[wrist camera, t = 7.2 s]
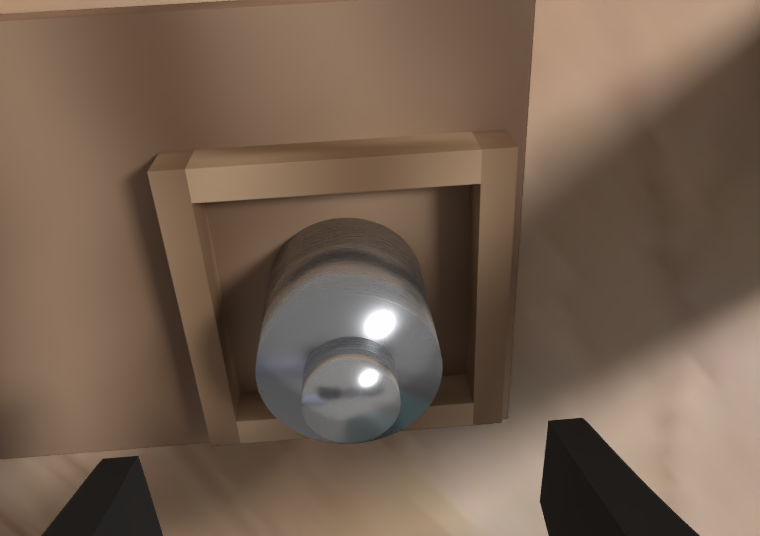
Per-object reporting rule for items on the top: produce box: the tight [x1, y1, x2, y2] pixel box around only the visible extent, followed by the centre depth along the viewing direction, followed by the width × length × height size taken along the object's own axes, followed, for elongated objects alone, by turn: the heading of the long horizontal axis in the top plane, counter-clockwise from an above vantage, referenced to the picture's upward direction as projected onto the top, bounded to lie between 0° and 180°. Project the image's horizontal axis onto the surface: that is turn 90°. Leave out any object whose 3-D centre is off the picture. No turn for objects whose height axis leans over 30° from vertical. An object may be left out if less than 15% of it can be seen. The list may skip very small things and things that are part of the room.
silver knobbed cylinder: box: [255, 218, 443, 444], centre depth 15 cm, size 4×4×5 cm
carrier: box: [0, 0, 536, 459], centre depth 17 cm, size 18×12×2 cm, turn 92°
